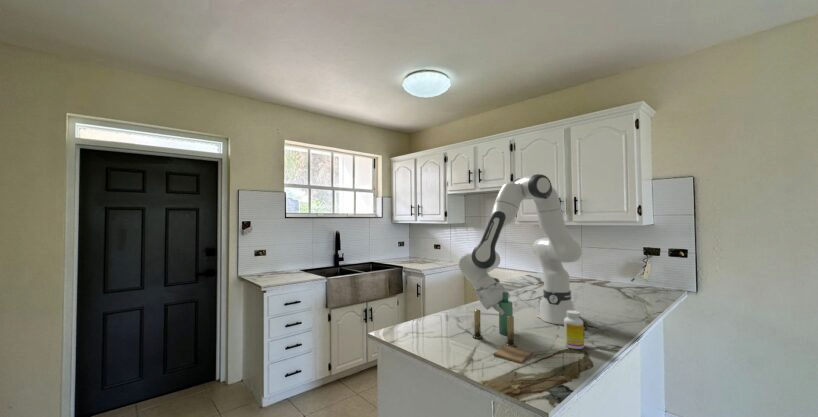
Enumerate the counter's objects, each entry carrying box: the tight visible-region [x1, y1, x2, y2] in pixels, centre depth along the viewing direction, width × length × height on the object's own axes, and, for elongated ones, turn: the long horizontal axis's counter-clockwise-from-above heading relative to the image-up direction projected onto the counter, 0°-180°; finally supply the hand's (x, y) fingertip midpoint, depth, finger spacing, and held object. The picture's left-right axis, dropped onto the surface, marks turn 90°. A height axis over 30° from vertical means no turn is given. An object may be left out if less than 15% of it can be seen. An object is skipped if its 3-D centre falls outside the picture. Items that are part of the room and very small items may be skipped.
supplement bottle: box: [563, 310, 585, 350], centre depth 125 cm, size 7×7×13 cm
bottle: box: [498, 291, 514, 336], centre depth 140 cm, size 6×6×17 cm
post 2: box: [504, 315, 517, 348], centre depth 126 cm, size 4×4×11 cm
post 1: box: [472, 308, 483, 340], centre depth 135 cm, size 4×4×11 cm
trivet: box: [493, 345, 533, 364], centre depth 117 cm, size 10×10×1 cm
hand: (507, 312), depth 140 cm, fingers closed on bottle, 6 cm apart
